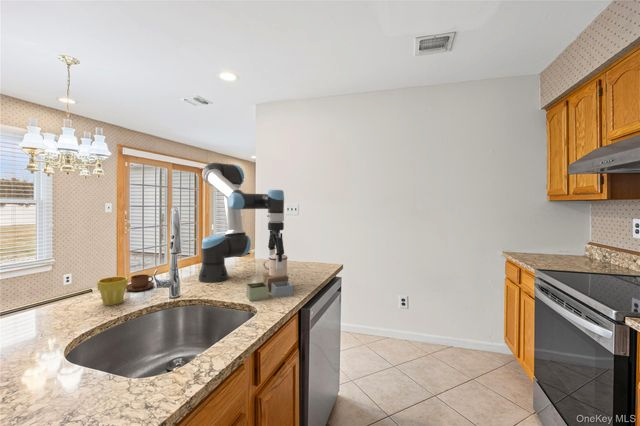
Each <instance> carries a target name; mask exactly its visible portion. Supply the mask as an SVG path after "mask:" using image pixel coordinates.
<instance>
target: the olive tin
mask: <svg viewBox="0 0 640 426" xmlns="http://www.w3.org/2000/svg"><path fill="white" fill-rule="evenodd" d="M246 298H247V299H248V301H249V302H250V303H251V302H257V301H266V300H267V301H268V300H269V292H268V286H267V285H266V283H265V282H263V281H262V282H261V281H260V282H250V283H246Z"/></svg>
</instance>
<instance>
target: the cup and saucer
mask: <svg viewBox="0 0 640 426" xmlns="http://www.w3.org/2000/svg"><path fill="white" fill-rule="evenodd" d="M150 278H151V280H149V279H150ZM153 281H154V277H153V276H152V275H149V274H145V273H144V274H142V273H141V274H135V275H132V276H130V283H128V285H127V287H126V288H125V290H127V291H131V292H139V291H145V290H149V289H150V288H152V287H154V285H155V282H153Z"/></svg>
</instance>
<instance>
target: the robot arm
mask: <svg viewBox="0 0 640 426" xmlns="http://www.w3.org/2000/svg"><path fill="white" fill-rule="evenodd" d="M201 176H202V179H203V182H205V183H206V184H207V185H208V186H211V187H213V188H214V189H215V190H217V191H218V192H219V193H220V194H221V195H222V196H223V202H224V212H225V222H226V232H225V233H224V235H223V234H215V235H209V236H205V237H204V238H203V239H202V241H201V267H200V271H199V273H198V281H199V282H202V283H218V282H222V281H226V280H228V278H229V273H228V270H227V266H226V265H225V261H226V259H230V258H237V257H239V258H240V257H242V256H246V255H248V254H249V251H250V250H251V246H252V244H251V243H252V242H251V238H250V237H249V236H248V235H247V234H246V231H244V229H243V221H242V211H241V210H267V216H266V217H267V221H268V222H267V230H268V231H269V240H268V246H267V247H268V251H269V254H268V255H269V256H271V255H273V254H275V253H276V251H277V253H276V269H282V268H283V255H285V249H284V240H283V233H282V232H281V231H284V228H285V223H284V221H285V212H284V211H285V195H284V190H282V189H269V190H268V191H267V193H246V192H243V191H242V190H241V189H240V188H241V187H242V184H243V183H244V179H245V173H244V170H243V168H242V167H241V166H240V165H237V164H233V163H222V162H212V163H211V162H210V163H208V164H207V165H205V166H204V167H203V169H202V171H201ZM269 256H268V257H269Z"/></svg>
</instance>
